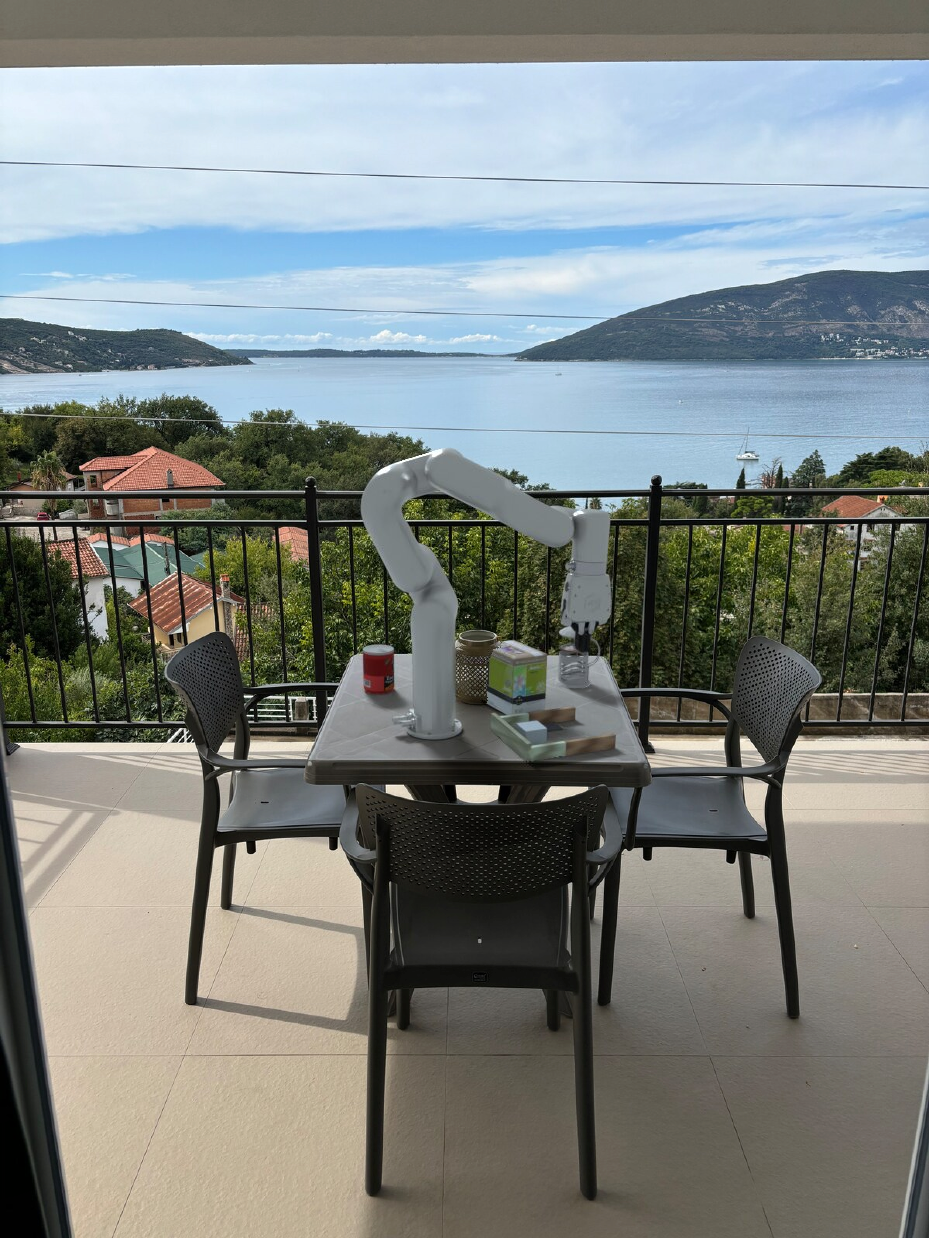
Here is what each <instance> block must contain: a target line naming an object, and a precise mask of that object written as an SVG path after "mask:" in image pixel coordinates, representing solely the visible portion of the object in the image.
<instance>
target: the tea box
mask: <svg viewBox="0 0 929 1238" xmlns="http://www.w3.org/2000/svg"><path fill="white" fill-rule="evenodd" d="M499 642H500V643H501V642H502V643H501V648H500V646H498V647H499V648H498V649H497V648H496V649H493V652H492V654H491V657H490V660H489V665H488V680H487V697H488V698H487V700H488V701H487V703H486V704H487V705H488V706H490V707H492V708H494V709H495V710H498V711H499V712H501V713H503V714H504V715H513V714H520V713H527V712H535V711H542V710H546V699H547V698H546V696H547V695H546V694H547V675H548V674H547V672H548V671H547V668H548V653H545V652H543V651H541V650H539V649H536V648H534V647H531V646H528V645H527V644H524V643H522V642H519V641H516V640H515V639H512V640H510V639H509V640H504V641H499Z"/></svg>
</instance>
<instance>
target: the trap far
mask: <svg viewBox="0 0 929 1238" xmlns="http://www.w3.org/2000/svg"><path fill="white" fill-rule="evenodd" d="M542 725H543V726H545V727H546V728H547V733H548V732H549V733H550V732H556V731H562V730H563V731H564V728H563V727H562V726H561V725H560V724H557V722H556V723H555V722H549V723H542Z"/></svg>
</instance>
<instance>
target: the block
mask: <svg viewBox="0 0 929 1238" xmlns="http://www.w3.org/2000/svg"><path fill="white" fill-rule="evenodd" d="M515 730H516V731H517V732H519V733H520V734H521V735H522V736H523V737H525V738H526V739H527V740H528V741H529V742H531V743H532V746H534V745H540V744H547V741H548V740H547V737H548V736H547V735H548V732H547V728H546V727H545V726H543V725H542V724H541V723H539V722H538V721H530V722H523V723H516V728H515Z"/></svg>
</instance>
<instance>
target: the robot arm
mask: <svg viewBox="0 0 929 1238" xmlns="http://www.w3.org/2000/svg"><path fill="white" fill-rule="evenodd" d="M438 491H440V492H442V493H443V494H446V495H448V496H449V497H452V498H454V499H456V500H457V501H458V500H459V501H461V502H462V503H464V504H466V505H468V506H470V507H473V508H474V509H477V510H478V511H480V512H483V513H484V514H487V516H490V517H491V518H492V519H494V520H496V521H497V522H498V521H499V522H500V523H502V524H504V525H506V526H508V527H509V528H512V530H515V531H517V532H518V533H520V534H523V535H524V536H526V537H528V538H530V539H532V540H535V541H536V542H539V543H541V544H543V545H545V546H547V547H551V548H562V547H563V546H566V545H567V544H568V543H570V542H571V543H572V545H571V556H570V557H571V558H570V561H569V563H567V562H566V564H565V565H564V566H565V570H569V572H568V573H566V574H567V575H566V578H565V581H564V585H563V590H562V597H561V604H560V605H561V606H560V615H561V621H560V624H561V625H562V626H564V627H571V628H572V629H573V631H574V632H575V643H574V642H573V644H574V645H575V649H576V650H578V651H580V652H588V653H589V649H590V646H591V640H590V639H591V638H592V635H593V634H594V631H595V630H596V629H597V628H598V627H599V626H601V625H604V624H607V622H608V619H609V618H610V616H611V609H612V591H611V590H612V588H611V580H610V579H611V578H610V575H609V574H607V563H608V549H609V539H610V537H609V536H610V527H611V516H610V513H608V512H607V511H605V510H603V509H595V508H590V509H589V508H584V509H583V508H581V509H578V508H573V507H572V508H571V507H565V506H560V505H548V504H545V503H544V502H542V501H540V500H537V499H536V498H534V497H532V496H531V495H529V494H527V493H526V492H524V491H523V490H521V488H519V487H518V486H517V485H515V484H514V483H513V482H512V481H511V480H510V479H508V478H506V477H505V476H503V475H502V474H499V473H497V472H495V471H493V470H492V469H489V468H486V467H485V466H483V465H480V464H478V463H476V462H474V461H472V460H471V459H469V458H467V457H465V456H464V455H463V454H462V453H461V452H460V451H458V450H456V449H454V448H451V447H443V448H439V449H436V450H434V451H431V452H428V453H425V454H422V455H418V456H415V457H412V458H408V459H405V460H404V459H403V460H402V461H398V462H393V463H392V464H390V465H387V466H385V467H383V468H380V470H378V471H377V472H376V473H375V474H374V475H373V476H372V478H371V479H370V480H369V482H368V483H367V485H366V487H365V488H364V491H363V494H362V496H361V501H360V502H361V503H360V514H361V518H362V522H363V524H364V527H365V529H366V531H367V533H368V535H369V537H370V539H371V541H372V543H373V545H374V547H375V548H376V551H377V553H378V556H380V559H381V560H382V562H383V564H384V566H385V568H386V570H387V572H388V574H389V576H390V578H391V581H392V582H393V584H394V585H395V586H396V588H398V589H399V590H401V591H402V592H405V593H408V594H409V597H411V600H412V602H413V606H412V609H411V614H410V634H411V635H410V637H411V658H412V659H411V661H412V662H411V665H412V708H409V709H408V713H405V715H395V716H391V723H392V725H393V726H398V725H400V727H401V728H405V730H406V732H407V733H408V734H409V735H410V736H411V737H414V738H417V739H422V740H444V739H449V738H452V737H456V736H457V735H459V734H460V733H461V732H462V730H463V725H462V722H461V721H460V720H459V719H457V718H456V619H457V615H458V609H459V601H458V598H457V597H458V596H457V595H456V592H455V590H454V588H453V587H452V585H451V584H452V583H450V581H449V579H448V577H447V575H446V574H445V571H444V569H443V567H442V565H441V564H440V562H439V559H438V558H437V557H436V555H435V553H434V552H433V550H431V548H429V547H428V546H427V545H425V544H423V543H420V542H418V540H417V539H416V537H415V535H414V533H413V531H412V528H411V527H410V525H409V523H408V522H407V520H406V519H405V517H404V515H403V511H402V508H403V505H404V504H405V503H407V501H409V500H412V499H414V498H418V497H421V496H424V495H428V494H431V493H435V492H438Z"/></svg>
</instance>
